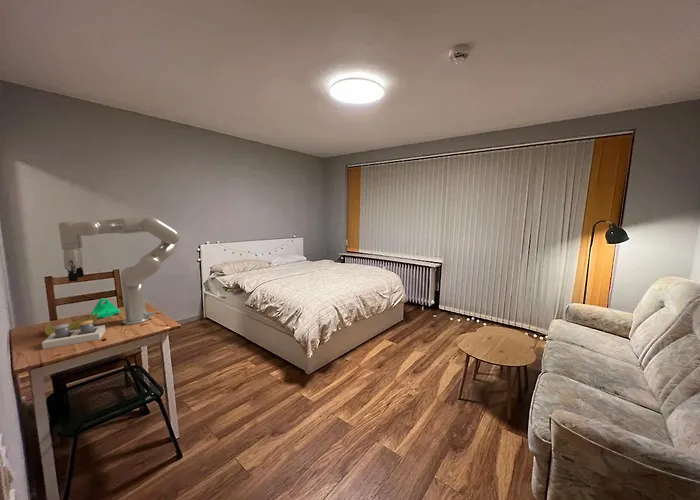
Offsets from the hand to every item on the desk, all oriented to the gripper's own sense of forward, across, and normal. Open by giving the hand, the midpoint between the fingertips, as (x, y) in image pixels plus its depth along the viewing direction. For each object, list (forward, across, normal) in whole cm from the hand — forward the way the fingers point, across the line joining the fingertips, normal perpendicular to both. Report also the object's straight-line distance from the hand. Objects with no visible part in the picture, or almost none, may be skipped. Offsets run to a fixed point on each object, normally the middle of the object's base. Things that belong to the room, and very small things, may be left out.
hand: (76, 279), depth 147 cm
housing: (+28, +12, 0) cm, 31 cm away
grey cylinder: (+28, +12, -4) cm, 31 cm away
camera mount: (+29, -23, +5) cm, 37 cm away
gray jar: (+28, +12, +4) cm, 31 cm away
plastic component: (+29, -4, -5) cm, 29 cm away
